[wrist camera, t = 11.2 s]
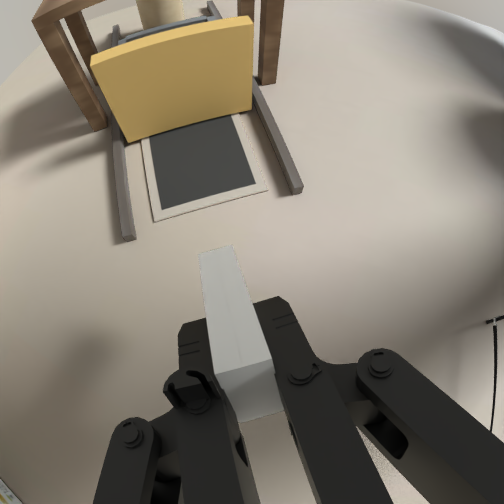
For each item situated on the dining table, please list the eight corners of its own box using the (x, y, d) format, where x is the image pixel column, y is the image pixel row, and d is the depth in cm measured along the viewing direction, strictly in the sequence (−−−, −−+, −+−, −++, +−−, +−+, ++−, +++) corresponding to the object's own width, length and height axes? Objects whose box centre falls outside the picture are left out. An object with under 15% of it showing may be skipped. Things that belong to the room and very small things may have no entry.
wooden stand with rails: (228, 4, 35) (225, -79, 20) (326, 186, 26) (391, 43, 11) (100, 37, 33) (72, -42, 18) (102, 249, 24) (-19, 150, 9)
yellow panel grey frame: (214, 29, 32) (209, -35, 22) (251, 109, 27) (253, 23, 18) (123, 52, 30) (102, -8, 21) (128, 142, 26) (90, 66, 16)
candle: (190, 36, 32) (181, -27, 22) (149, 48, 31) (132, -14, 22) (181, 19, 33) (172, -37, 24) (143, 31, 33) (129, -25, 23)
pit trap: (231, 95, 28) (231, 94, 28) (268, 190, 25) (268, 189, 25) (139, 120, 27) (138, 119, 27) (154, 222, 24) (154, 221, 24)
